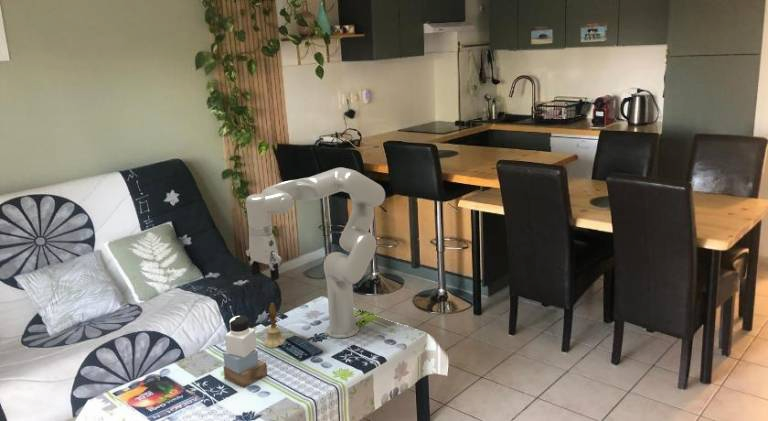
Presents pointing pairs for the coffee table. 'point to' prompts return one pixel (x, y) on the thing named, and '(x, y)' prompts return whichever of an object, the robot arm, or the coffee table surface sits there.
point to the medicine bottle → (240, 337)
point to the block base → (246, 375)
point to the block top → (240, 361)
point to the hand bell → (273, 331)
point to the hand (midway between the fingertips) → (265, 277)
